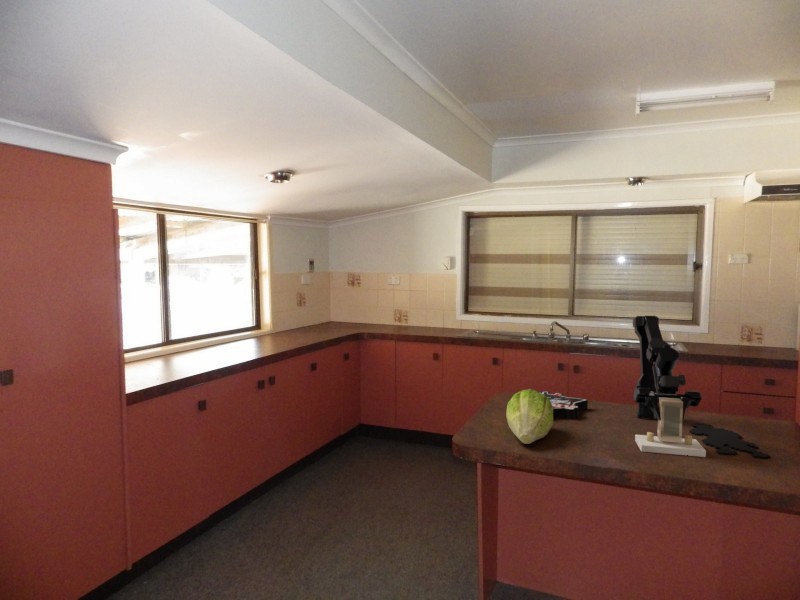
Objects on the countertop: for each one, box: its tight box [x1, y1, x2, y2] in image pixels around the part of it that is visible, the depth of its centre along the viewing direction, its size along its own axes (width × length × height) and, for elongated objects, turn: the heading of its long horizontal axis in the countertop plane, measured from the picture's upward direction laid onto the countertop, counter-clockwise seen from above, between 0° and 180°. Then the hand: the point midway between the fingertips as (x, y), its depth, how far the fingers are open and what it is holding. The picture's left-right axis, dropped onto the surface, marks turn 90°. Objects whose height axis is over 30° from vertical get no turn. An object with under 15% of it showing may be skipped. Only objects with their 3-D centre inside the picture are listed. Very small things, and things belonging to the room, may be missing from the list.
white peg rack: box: [634, 431, 707, 458], centre depth 158 cm, size 10×18×4 cm, turn 75°
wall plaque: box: [518, 390, 589, 420], centre depth 199 cm, size 28×4×30 cm
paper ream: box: [656, 397, 683, 443], centre depth 158 cm, size 4×6×13 cm
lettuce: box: [505, 388, 554, 445], centre depth 170 cm, size 15×24×16 cm
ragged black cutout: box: [688, 422, 771, 460], centre depth 166 cm, size 16×1×30 cm
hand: (671, 420), depth 156 cm, fingers closed on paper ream, 6 cm apart
